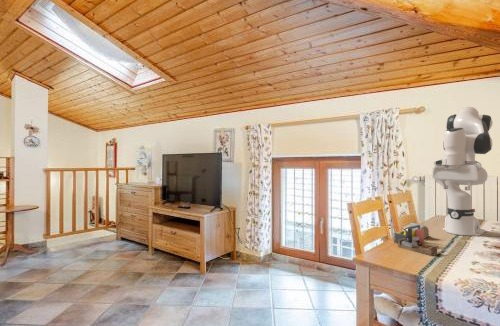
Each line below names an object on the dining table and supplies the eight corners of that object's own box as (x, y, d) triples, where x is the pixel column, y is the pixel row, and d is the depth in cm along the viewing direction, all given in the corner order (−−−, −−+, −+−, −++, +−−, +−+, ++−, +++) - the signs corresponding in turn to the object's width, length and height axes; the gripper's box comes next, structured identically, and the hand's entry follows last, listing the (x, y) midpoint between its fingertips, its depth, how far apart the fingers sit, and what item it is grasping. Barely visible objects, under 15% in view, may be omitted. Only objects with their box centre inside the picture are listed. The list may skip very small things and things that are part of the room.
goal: (407, 239, 153) (406, 222, 153) (420, 242, 146) (420, 225, 146) (393, 242, 147) (393, 225, 147) (407, 245, 141) (406, 228, 141)
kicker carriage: (417, 241, 144) (416, 224, 144) (427, 243, 140) (426, 226, 140) (401, 245, 138) (401, 228, 138) (411, 247, 133) (411, 230, 133)
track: (404, 245, 142) (404, 238, 142) (437, 253, 128) (437, 246, 128) (398, 247, 139) (397, 239, 139) (431, 255, 125) (431, 247, 125)
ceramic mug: (421, 240, 150) (421, 225, 150) (407, 236, 157) (406, 223, 158) (433, 237, 155) (433, 223, 155) (418, 234, 162) (418, 221, 162)
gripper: (484, 160, 128) (485, 190, 128) (437, 161, 146) (438, 187, 146) (477, 161, 125) (478, 191, 125) (430, 161, 143) (431, 188, 143)
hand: (456, 189), depth 135 cm, fingers open, 8 cm apart
